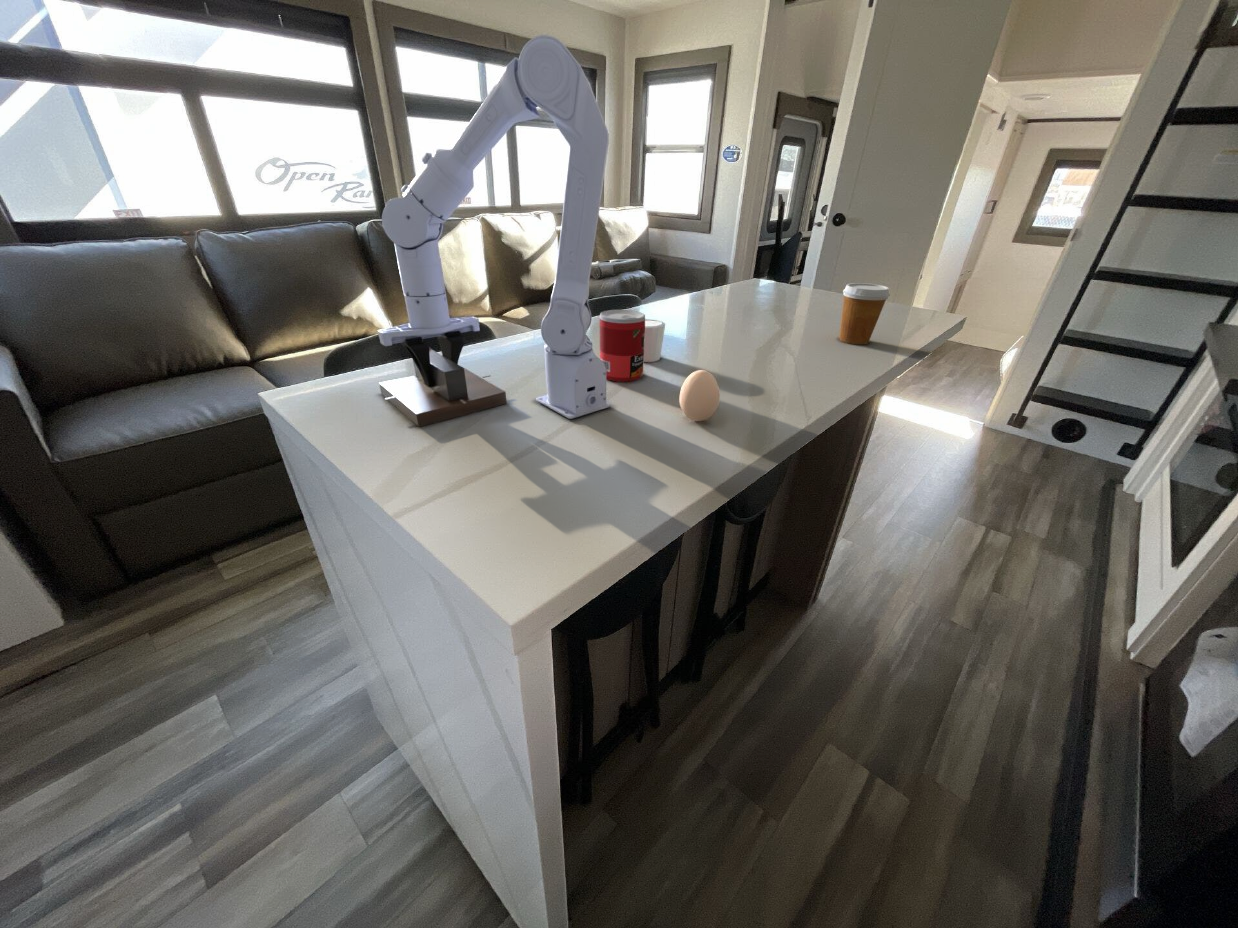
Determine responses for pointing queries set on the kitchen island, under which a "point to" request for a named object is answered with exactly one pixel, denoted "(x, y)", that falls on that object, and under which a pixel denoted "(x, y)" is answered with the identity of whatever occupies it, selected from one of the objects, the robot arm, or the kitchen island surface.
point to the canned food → (622, 344)
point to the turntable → (440, 399)
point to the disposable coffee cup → (861, 311)
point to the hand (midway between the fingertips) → (440, 382)
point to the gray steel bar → (446, 377)
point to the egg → (699, 395)
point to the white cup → (653, 340)
